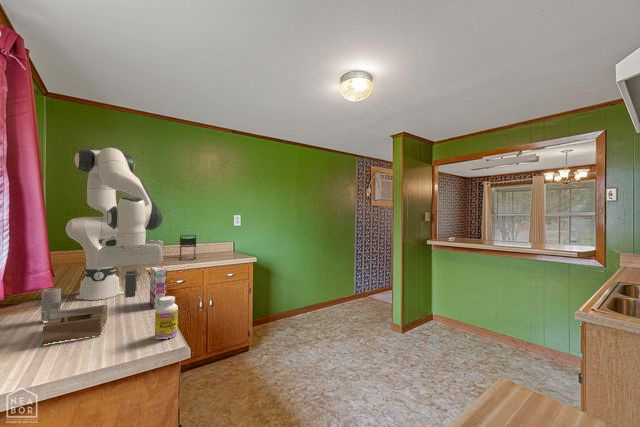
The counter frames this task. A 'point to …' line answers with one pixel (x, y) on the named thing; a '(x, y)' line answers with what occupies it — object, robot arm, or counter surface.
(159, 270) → the candy bar box
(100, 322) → the shelf
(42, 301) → the energy drink
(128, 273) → the gray block
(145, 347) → the counter surface
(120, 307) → the counter surface
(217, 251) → the counter surface
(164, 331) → the supplement bottle
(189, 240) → the chair
